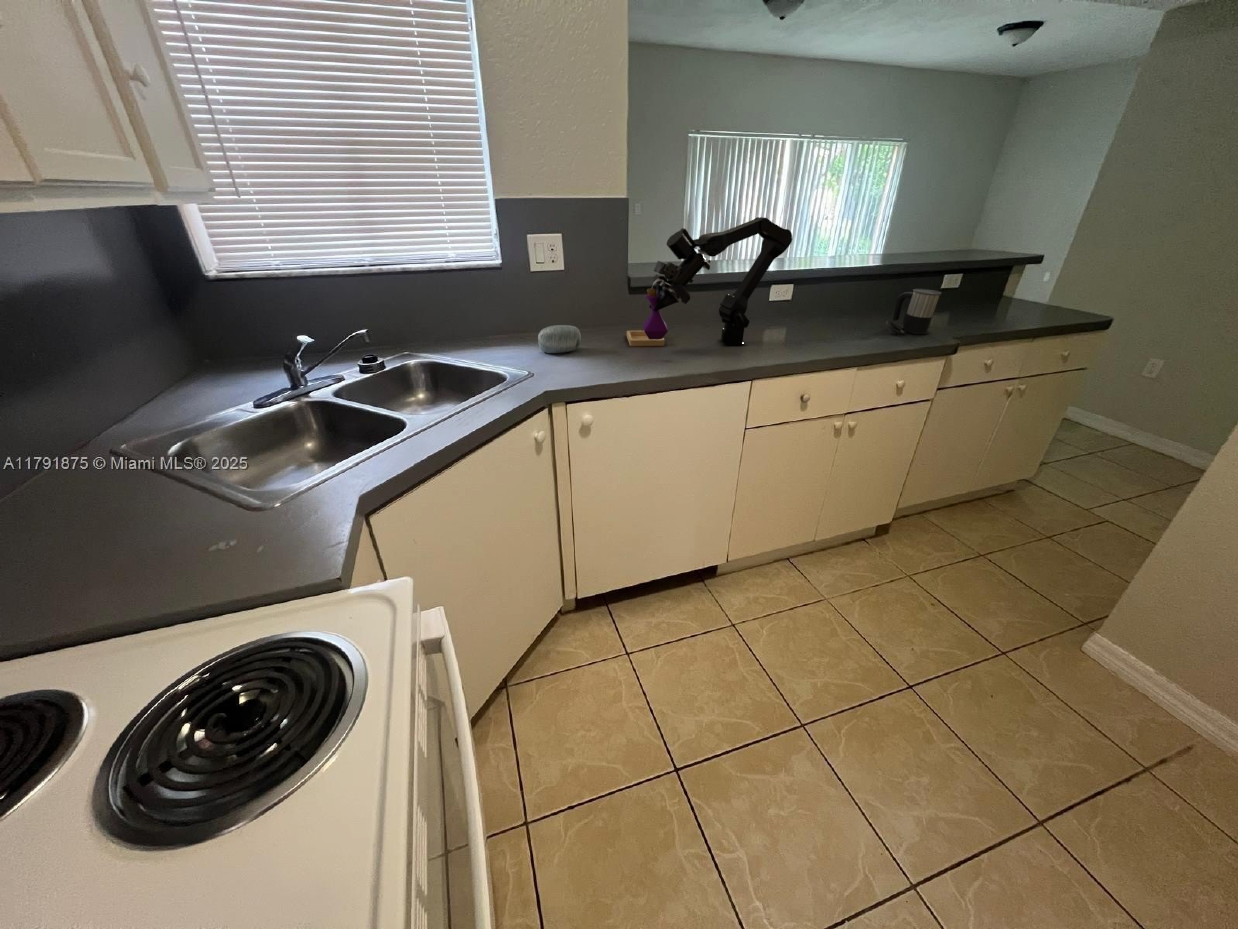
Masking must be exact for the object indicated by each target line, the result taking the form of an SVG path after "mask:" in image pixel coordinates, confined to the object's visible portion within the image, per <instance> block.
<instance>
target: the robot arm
mask: <svg viewBox="0 0 1238 929" xmlns="http://www.w3.org/2000/svg"><path fill="white" fill-rule="evenodd" d="M757 235H759V237H761V238H762V239H763V240H762V242H761V248H760V253H758V256H757V257H756V259H755V260H754V262H753V264H752V265H751V267H750V268H749V269H748V271H747V273H746V274H745V276H744V278H743V279H742V281H741V282H740V284H739V286H738V287H737V289H736V290H735V291H734V292H733V293H732V294H730V293H726V295H724V298H723V300H722V301H721V302H720V303H719V305H720V306H719V307H718V308H719V309H718V314H719V317H720V318H721V322H722V323H724V325H723V327H722V329H721V336H720V341H721V342H722V344H723V345H725V346H744V345H745V343H744V342H743V341H744V335H745V329H746V328H748V327H749V324H750V320H749V318H748V317H747V316H746V312H747V309H748V304H749V299H750V297H751V296H752V294H753V293H754V291H755V290H756V288H757V286H758V285H759V283H760V282H761V280H762V279H763V277H764V276H765V274H766V273H767V271H768V270H769V268H770V266H771V265H772V263H773V261H775V259H777V258H778V257H780V256H781V255H782V254H784V253H785V251H786V250H787V249H788V248H789V247H790V246H791V244H792V241H793V234H792V232H791V230H790V229H789V228H783V227H782V226H780V225H778V224H776V223H775V222H773V221H771V220H770V219H769V218H768V217H763V216H757V217H755V218H753V219H752V220H748V221H746V222H744V223H742V224H738V225H736V226H734V227H731V228H729V229H726V230H724V231H715V232H708V233H704V234H701V235H700V236H699V237H698V238H694V239H693V238H692V236H691V235H690V234H689V232H688V229H687V228H683V227H682V228H680V229H679V230H678V231H676V232H675V233H673V234H671V235H670V236H669V238H667V241H666V246H667V248H668V249H669V250H670V251H671V253H672V254H673V255H674V256H675V258H677V260H681V262H680V263H679V264H674V263H672V262H671V261H668V262H667V263H665V262H663V261H660V260H657V261H656V264H655V266H654V268H653V272H655V273H657V274H654V276H653V277H652V281H653V283H654V282H655V280H657V279H661V280H663V282H664V283H663V282H662V281H658V282H656V283H655V286H656V291H657V292H656V294H657V295H658V297H659V298H657V300H656V305H655V306H654V308H653V310H654V311H658V310H659V311H660V310H662V309H664V308H667V307H670V306H672V305H674V304H677V303H678V304H679V303H680V301H681V303H683V304H684V305H687V304H688V303H689V301H690V300H691V294H690V293H689V292H688V290H687V289H686V288H685V287H687V285H688V284H692V283H693V282H694V280H693V278H695V276H697V274H698V273H699V272H700V271H701V270H702V269H705V270H707V271H709V270H711V260H710V259H708V258H705V256H707V257H712V258H714V257H717V256H718V255H720V254H721V253H723V252H724V251H726V249H728V247H730V246H731V245H733V244H736V243H738V242H741V241H743V240H746V239H748V238H749V239H750V238H751V237H753V236H754V237H755V236H757ZM696 250H697V251H696ZM704 255H705V256H704ZM679 299H681V300H680V301H679ZM648 307H649V309H651V310H652V308H651V304H650V303H649V306H648Z"/></svg>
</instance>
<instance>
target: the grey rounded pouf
mask: <svg viewBox="0 0 1238 929" xmlns="http://www.w3.org/2000/svg"><path fill="white" fill-rule="evenodd" d="M581 336H582V335H581V331H580V329H579V328H578V327H577V326H574V325H569V324H568V325H566V324H557V325H549V326H546V327H544V328H542V329H541V330H540V331H539V332H538V336H537V343H538V347H539V349H540V350H541V351H542V352H543V353H546V354H547V353H548V354H560V353H569V352H575V351H577V350H578V349H579V347H580V345H581V341H582V337H581Z"/></svg>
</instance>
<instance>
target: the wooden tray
mask: <svg viewBox="0 0 1238 929" xmlns="http://www.w3.org/2000/svg"><path fill="white" fill-rule="evenodd" d="M626 338H627V341H628V344H629V347H665V342H666V341H665V338H664V337H663V338H662V339H648V337H647V335H646V333H645V332H644V330H626Z"/></svg>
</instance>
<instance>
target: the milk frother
mask: <svg viewBox="0 0 1238 929" xmlns="http://www.w3.org/2000/svg"><path fill="white" fill-rule="evenodd" d="M912 290H913V291H905V292H903V293H901V294H900V295H899V296H898V297H897V298H896V301H895V305H894V309H893V314H892V321H898V320H899V319H900V317H901V314H902V310H903V306H904V302H905V300H906V299H909V302H908V305H907V308H906V311H905V314H904V316H903V320H902V322H901V325H902V326H900V325H898V324H896V323H894V322H892V321H886V327H887V328H888V329H889V330H891V331H892V332H893V333H894V335H898V334H899V335H905V334H906V333H908V334H916V335H927V334H928V330H929V328H930V324H931V321H932V318H933V315H934V312H935V310H936V307H937V304H938V301H939V298H940V296H941V295H942V292H941V291H938V290H934V289H927V288H914V289H912Z"/></svg>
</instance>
